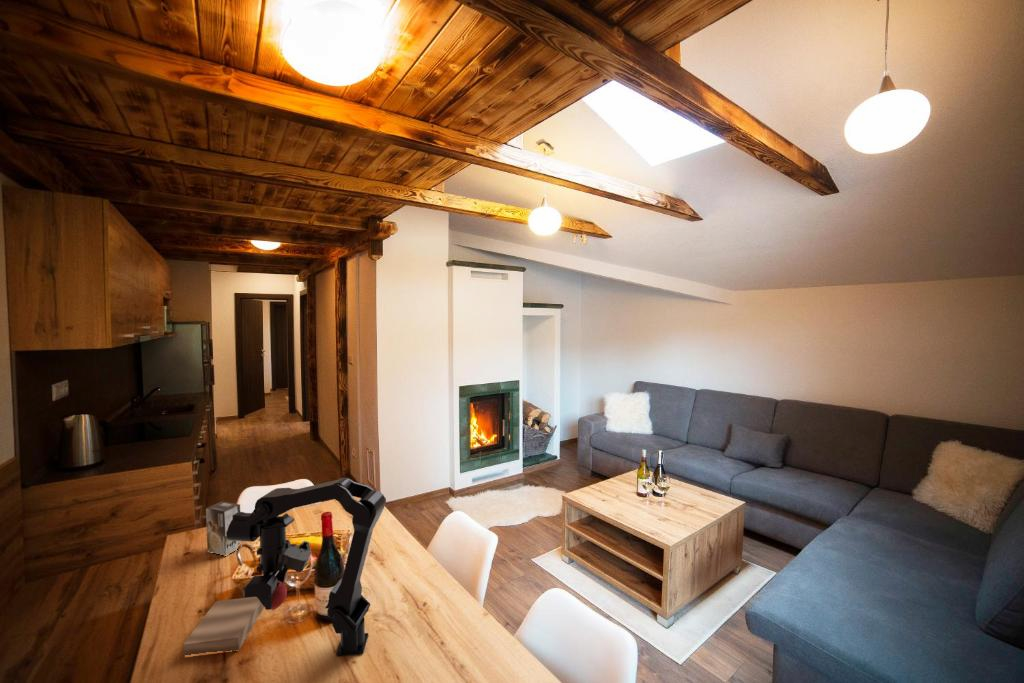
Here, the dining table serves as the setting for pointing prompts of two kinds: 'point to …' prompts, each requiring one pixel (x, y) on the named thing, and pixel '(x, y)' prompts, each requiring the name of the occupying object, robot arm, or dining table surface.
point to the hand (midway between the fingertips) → (274, 601)
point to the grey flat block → (224, 626)
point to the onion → (279, 595)
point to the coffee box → (220, 527)
